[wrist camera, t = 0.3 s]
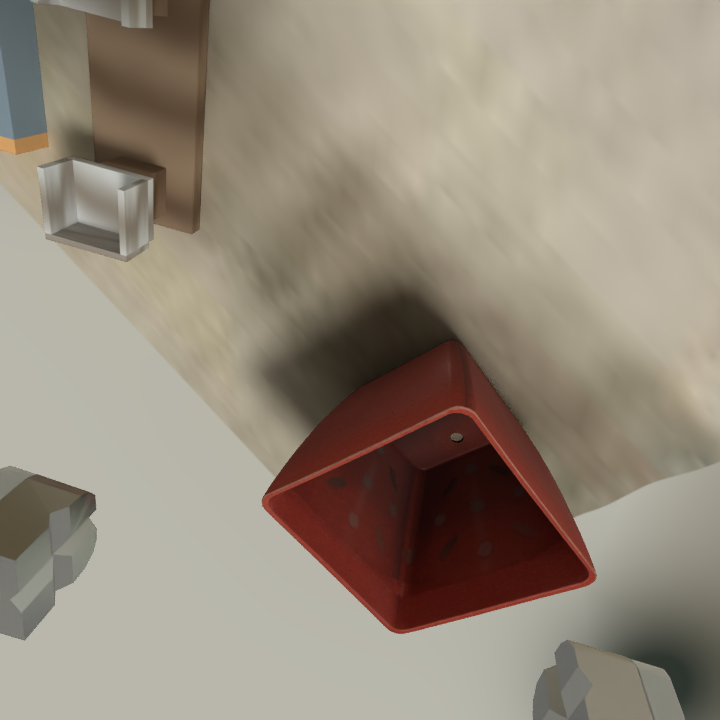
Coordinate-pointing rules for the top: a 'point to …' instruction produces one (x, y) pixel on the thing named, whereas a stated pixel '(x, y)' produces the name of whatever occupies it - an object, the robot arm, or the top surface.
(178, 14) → the stand
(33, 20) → the rail
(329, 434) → the plant pot
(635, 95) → the top surface
